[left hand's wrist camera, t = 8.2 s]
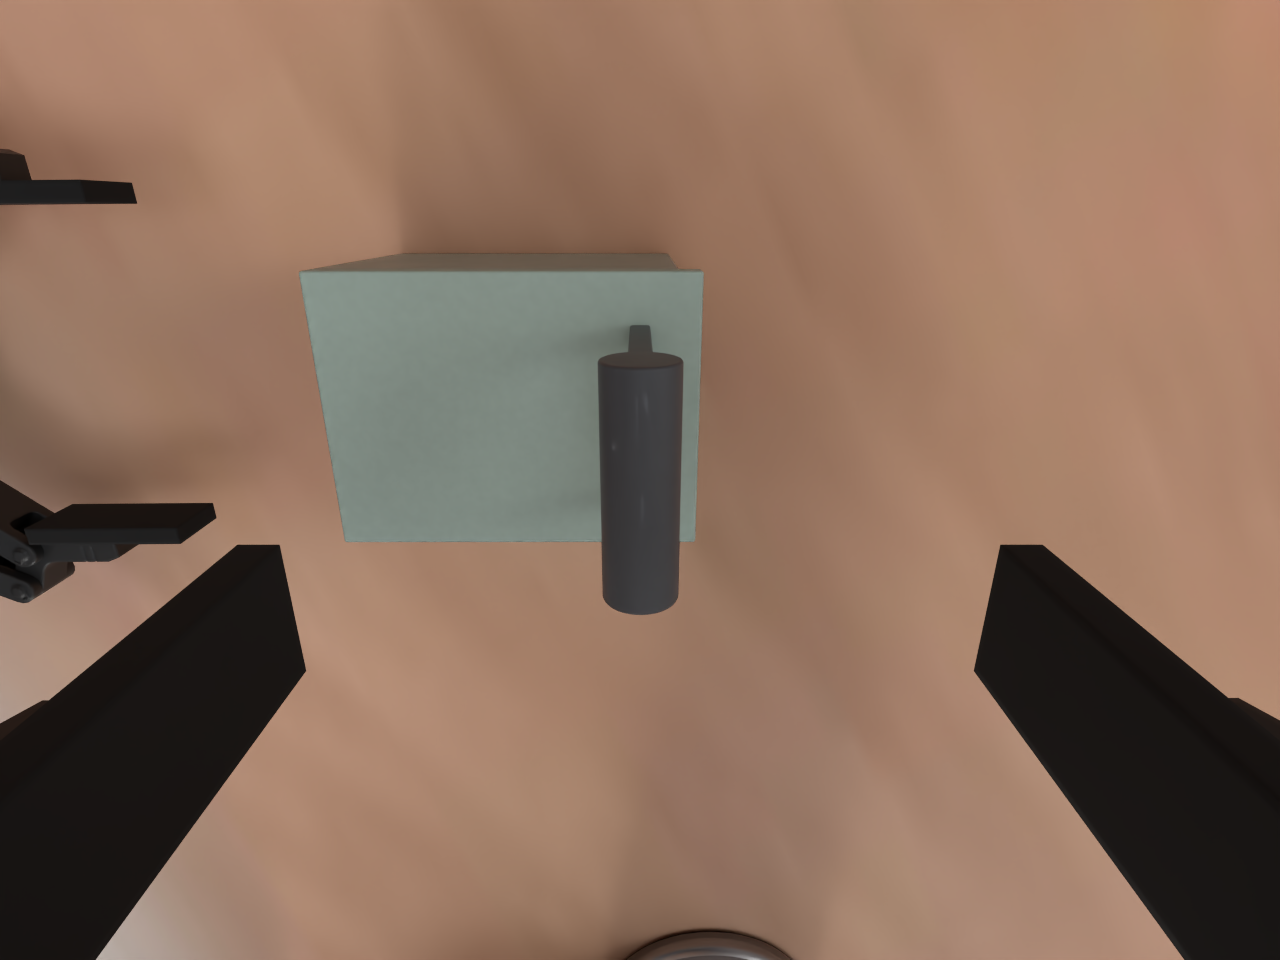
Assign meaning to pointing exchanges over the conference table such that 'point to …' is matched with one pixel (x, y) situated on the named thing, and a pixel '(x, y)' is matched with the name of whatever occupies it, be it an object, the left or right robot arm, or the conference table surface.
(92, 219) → the conference table surface
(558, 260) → the chest
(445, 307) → the lid
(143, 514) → the right robot arm
